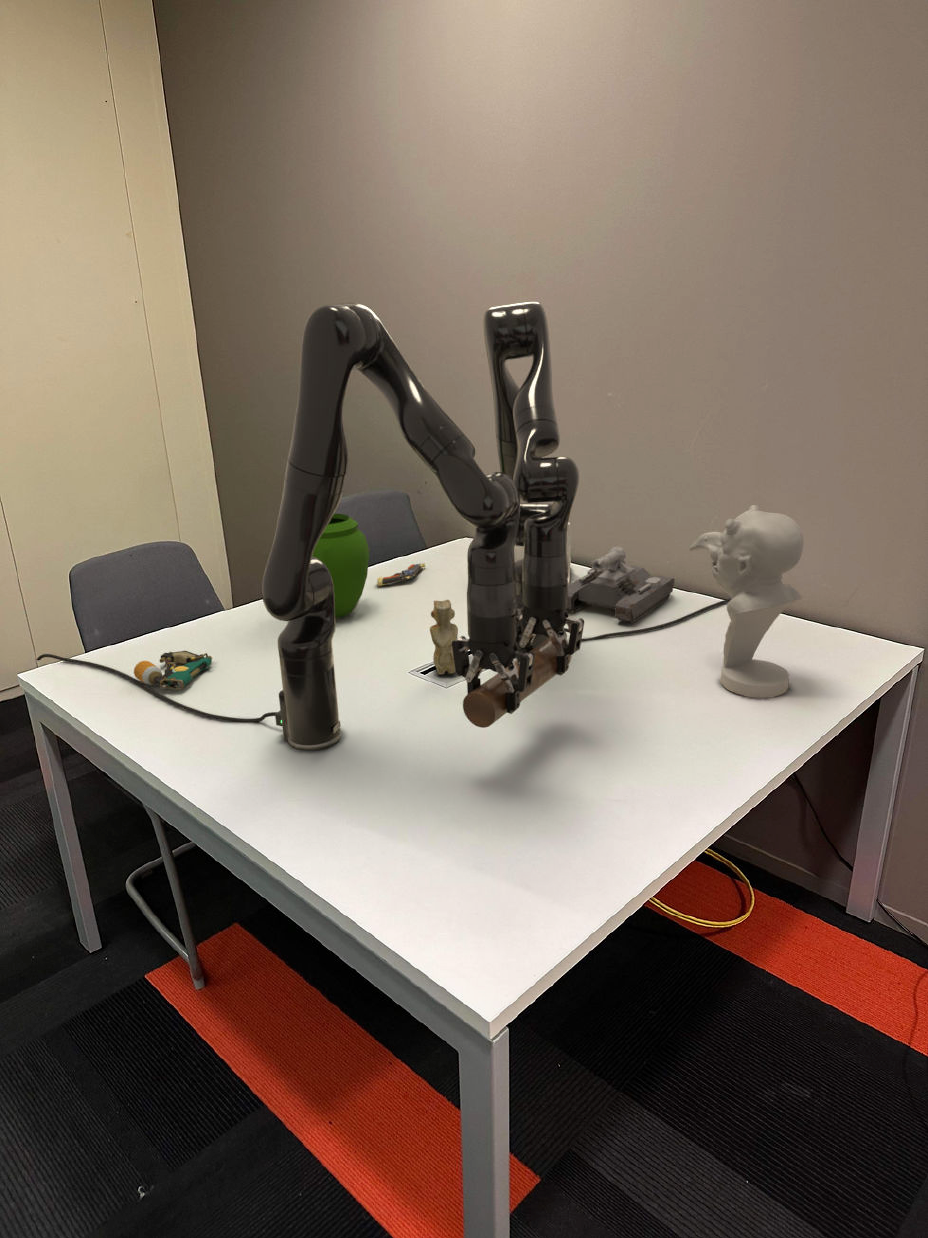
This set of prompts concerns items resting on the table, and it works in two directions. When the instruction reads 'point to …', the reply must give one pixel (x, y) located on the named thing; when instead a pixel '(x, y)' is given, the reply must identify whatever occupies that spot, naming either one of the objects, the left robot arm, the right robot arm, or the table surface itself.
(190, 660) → the spray gun
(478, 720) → the rod
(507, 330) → the right robot arm
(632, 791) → the table surface
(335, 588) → the vase
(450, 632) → the sculpture
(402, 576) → the toy gun
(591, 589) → the toy
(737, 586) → the bust sculpture
